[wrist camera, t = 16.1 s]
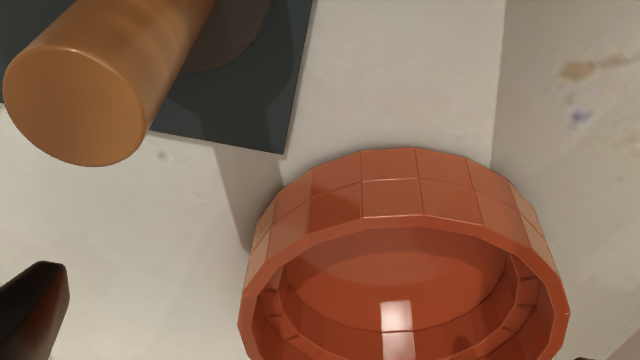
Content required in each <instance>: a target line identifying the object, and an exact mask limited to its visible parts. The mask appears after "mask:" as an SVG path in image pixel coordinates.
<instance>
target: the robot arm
mask: <svg viewBox="0 0 640 360" xmlns="http://www.w3.org/2000/svg"><path fill="white" fill-rule="evenodd" d="M69 300H70V293H69V285H68V277H67V270H66V267H65V266H64V265H63V264H60V263H54V262H49V261H38V262H36V263H34V264H33V265H31V266H30V267H29V268H27V269H26V270H24V271H23V272H21V273H20V274H18V275H17V276H16V277H14V278H13V279H11V280H10V281H8V282H7V283H5V284H4V285H3V286H1V287H0V360H48V358H49V355H50V353H51V350H52V347H53V345H54V342H55V340H56V337H57V334H58V332H59V329H60V327H61V324H62V322H63V319H64V316H65V314H66V311H67V308H68V305H69ZM575 360H594V359H588V358H582V357H579V358H576V359H575Z"/></svg>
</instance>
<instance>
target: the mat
mask: <svg viewBox="0 0 640 360" xmlns="http://www.w3.org/2000/svg"><path fill="white" fill-rule="evenodd" d="M75 1H76V0H0V103H4V99H3V91H2V88H3V79H4V75H5V72H6V69H7V67H8V65H9V64H10V63H11V61H12V60H13V59H14V58H15V57H16V56H17V55H18V54H19V53H20V52H21V51H23V50H24V49H25V48H26V47H27V46H28V45H29V44H30V43H31V42H32V41H33V40H34V39H35V38H36V37H38V36H39V35H40V34H41V33H42V32H43V31H44V30H45V29H46V28H47V27H48V26H49V25H50V24H52V23H53V22H54V21H55V20H56V19H57V18H58V17H59V16H60V15H61V14H62V13H63V12H64V11H65V10H67V9H68V8H69V7H70V6H71V5H72V4H73V3H74V2H75ZM311 6H312V0H272V1H271V4H270V7H269V10H268V13H267V16H266V19H265V22H264V24H263V27H262V29H261V30H260V32H259V34H258V36H257V37H256V39H255V40H254V41H253V43H252V44H251V45H250V46H249V47H248V48H247V49H246V50H245V51H244V52H243V53H242V54H241V55H239V56H238V57H237V58H235V59H234V60H232V61H230V62H228V63H226V64H224V65H222V66H219V67H216V68H214V69H210V70H205V71H198V72H179V73H178V75H177V77H176V79H175V80H174V82H173V84H172V86H171V88H170V90H169V92H168V94H167V96H166V98H165V99H164V101H163V103H162V105H161V107H160V109H159V111H158V113H157V115H156V116H155V118H154V120H153V122H152V124H151V126H150V128H149V130H151V131H157V132H162V133H168V134H173V135H178V136H184V137H189V138H195V139H200V140H205V141H211V142H216V143H222V144H227V145H232V146H238V147H243V148H249V149H254V150H259V151H265V152H270V153H276V154H281V155H282V154H283V153H284V147H285V142H286V137H287V132H288V126H289V121H290V116H291V111H292V105H293V100H294V95H295V90H296V84H297V79H298V74H299V69H300V63H301V58H302V53H303V48H304V42H305V37H306V32H307V27H308V21H309V16H310V11H311Z"/></svg>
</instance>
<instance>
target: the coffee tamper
mask: <svg viewBox="0 0 640 360" xmlns="http://www.w3.org/2000/svg"><path fill="white" fill-rule="evenodd" d="M271 1H272V0H76V1H75V2H74V3H73V4H72V5H71V6H70V7H69V8H68V9H67V10H65V11H64V12H63V13H62V14H61V15H60V16H59V17H58V18H57V19H56V20H55V21H54V22H53V23H52V24H50V25H49V26H48V27H47V28H46V29H45V30H44V31H43V32H42V33H41V34H40V35H39V36H38V37H36V38H35V39H34V40H33V41H32V42H31V43H30V44H29V45H28V46H27V47H26V48H25V49H24V50H23V51H21V52H20V53H19V54H18V55H17V56H16V57H15V58H14V59H13V60H12V61H11V63H10V64H9V65H8V67H7V69H6V72H5V75H4V79H3V88H2V91H3V99H4V103H5V107H6V109H7V112H8V114H9V116H10V118H11V120H12V121H13V123H14V124H15V126H16V127H17V128H18V130H19V131H20V132H21V133H22V134H23V135H24V136H25V137H26V138H27V139H28V140H29V141H30V142H31V143H32V144H34V145H35V146H36V147H37V148H39V149H40V150H42V151H43V152H45V153H47V154H49V155H50V156H52V157H54V158H57V159H59V160H61V161H64V162H67V163H70V164H74V165H78V166H85V167H103V166H108V165H112V164H115V163H118V162H120V161H122V160H124V159H126V158H128V157H129V156H131V155H132V154H133V153H134V152H135V151H136V150H137V149H138V148H139V146H140V145H141V143H142V141H143V139H144V137H145V135H146V134H147V132H148V130H149V128H150V126H151V124H152V122H153V120H154V118H155V116H156V115H157V113H158V111H159V109H160V107H161V105H162V103H163V101H164V99H165V98H166V96H167V94H168V92H169V90H170V88H171V86H172V84H173V82H174V80H175V79H176V77H177V75H178V73H179V72H198V71H205V70H210V69H214V68H216V67H219V66H222V65H224V64H226V63H228V62H230V61H232V60H234V59H235V58H237V57H238V56H239V55H241V54H242V53H243V52H244V51H245V50H246V49H247V48H248V47H249V46H250V45H251V44H252V43H253V41H254V40H255V39H256V37H257V36H258V34H259V32H260V30H261V29H262V27H263V24H264V22H265V19H266V16H267V13H268V10H269V7H270V4H271Z"/></svg>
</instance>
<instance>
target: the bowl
mask: <svg viewBox="0 0 640 360" xmlns="http://www.w3.org/2000/svg"><path fill="white" fill-rule="evenodd" d="M569 317H570V308H569V305H568V301H567V298H566V294H565V291H564V288H563V284H562V281H561V278H560V275H559V273H558V270H557V268H556V265H555V262H554V260H553V257H552V255H551V252H550V249H549V247H548V244H547V242H546V239H545V237H544V234H543V231H542V229H541V226H540V224H539V221H538V219H537V216H536V213H535V211H534V209H533V207H532V206H531V205H530V204H529V203H528V202H527V200H526V199H525V198H524V197H523V196H522V195H521V194H520V193H519V192H518V190H517V189H516V188H515V187H514V186H513V185H512V184H511V183H510V182H509V180H507V179H506V178H505V177H503V176H501V175H499V174H497V173H495V172H493V171H492V170H490V169H488V168H486V167H484V166H482V165H480V164H478V163H476V162H474V161H472V160H470V159H469V158H467V157H465V158H464V157H463V156H458V155H453V154H447V153H442V152H437V151H432V150H426V149H421V148H413V147H406V148H392V149H378V150H364V151H361V152H360V151H359V152H356V153H353V154H350V155H347V156H344V157H341V158H338V159H336V160H333V161H330V162H327V163H324V164H321V165H318V166H315V167H314V168H311V169H310V170H309V171H307V172H306V173H304V174H303V175H302V176H300V177H299V178H297V179H296V180H295V181H293V182H292V183H291V184H289V185H288V186H286V187H285V188H284V189H282V190H281V191H279V192H278V194H277V195H276V196H275V197H274V199H273V200H272V202H271V203H270V205H269V206H268V208H267V209H266V211H265V212H264V214H263V215H262V217H261V218H260V220H259V221H258V223H257V225H256V227H255V232H254V237H253V242H252V247H251V252H250V258H249V262H248V267H247V272H246V277H245V282H244V287H243V292H242V298H241V304H240V310H239V316H238V322H237V325H238V329H239V332H240V335H241V338H242V341H243V344H244V347H245V350H246V353H247V355H248V357H249V358H250V359H251V360H552V358H553V357H554V356H555V355H556V353H557V352H558V351H559V349H560V348H561V347H562V345H563V342H564V338H565V333H566V329H567V325H568V321H569Z"/></svg>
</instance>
